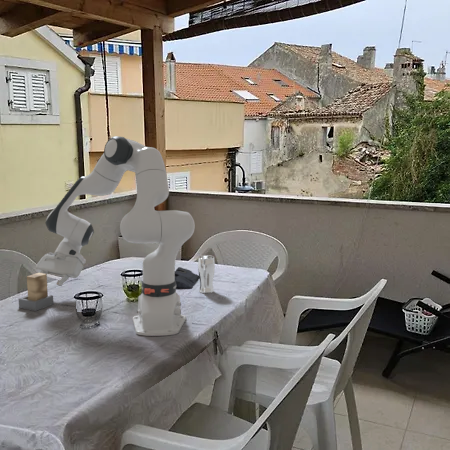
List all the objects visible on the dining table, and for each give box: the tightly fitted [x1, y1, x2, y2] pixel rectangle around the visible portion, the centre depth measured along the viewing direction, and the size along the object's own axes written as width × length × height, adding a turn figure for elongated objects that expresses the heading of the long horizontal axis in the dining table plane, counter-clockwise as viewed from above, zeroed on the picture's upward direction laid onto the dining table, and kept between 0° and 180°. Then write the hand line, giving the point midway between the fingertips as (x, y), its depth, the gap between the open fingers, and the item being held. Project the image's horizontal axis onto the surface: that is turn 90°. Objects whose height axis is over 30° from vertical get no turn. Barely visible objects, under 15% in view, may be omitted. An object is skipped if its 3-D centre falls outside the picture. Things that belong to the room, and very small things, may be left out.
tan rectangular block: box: [26, 272, 49, 301], centre depth 192 cm, size 6×4×12 cm, turn 154°
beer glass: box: [197, 254, 216, 294], centre depth 211 cm, size 7×7×15 cm
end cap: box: [18, 294, 54, 312], centre depth 192 cm, size 9×8×4 cm
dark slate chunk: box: [175, 266, 200, 290], centre depth 227 cm, size 15×22×5 cm
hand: (49, 283), depth 198 cm, fingers open, 8 cm apart
